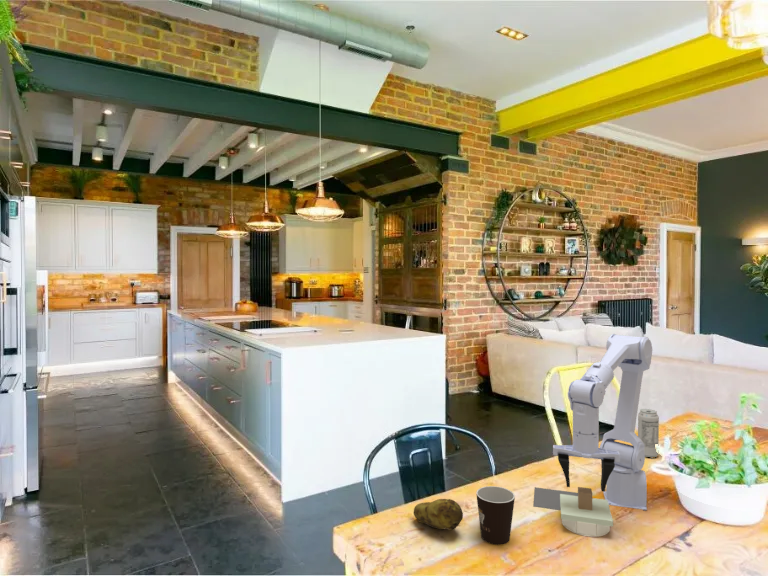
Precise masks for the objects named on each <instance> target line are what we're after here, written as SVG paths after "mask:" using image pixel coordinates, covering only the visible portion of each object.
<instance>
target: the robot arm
mask: <svg viewBox="0 0 768 576" xmlns="http://www.w3.org/2000/svg"><path fill="white" fill-rule="evenodd" d="M605 347H606V352H605V354H604V355H603V356H602V358H601V360H599V361H597V362H593V363H592V364H591V366H590V367H589V368H588V369H587V370H586V371H585V372H584V374H583V375H582V376H581V378H580V379H575V380H573V381H572V382H570V384H569V386H568V391H567V398H568V400H569V404H570V406H569V408H570V411H572V444H565V445H563V444H562V445H560V444H559V445H558V444H553V445H552V454H553V456H555V457H557V459H558V464H560V468H561V469H562V471H563V474H564V478H565V484H566V487H567V488H570V487H571V481H570V457H577V458H583V459H594V460H596V459H597V460H600V461H601V462H600V463H601V475H600V477H601V478H600V489H601V492H603V496H604V500H608V504H609V506H614V507H619V508H620V507H622V508H630V509H635V510H643V511H647V510H648V508H647V502H648V501H647V498H648V497H647V496H648V495H647V490H648V489H647V487H648V486H647V483H648V481H647V474H646V472H645V470H642V469H643V468H644V465H645V460H646V458H645V454H644V447H645V446H644V443H643V441H642V440H641V439H640V438H639V437H638V434H637V433H635V430H636V425H637V419H638V409H639V401H640V394H641V389H642V388H641V387H642V382H643V376H644V371H648V370H650V367H651V362H652V356H653V346H652V342H651V339H650V338H649V336H634V335H623V334H615V333H612V334H610V336H608V338H607V339H606V346H605ZM618 367H619V368H620V369H621V371H622V373H621V380H620V386H619V391H618V392H619V393H618V399H617V405H616V406H617V407H616V413H615V419H614V420H615V421H614V426H613V429H611V430H608V431H607V432H605V433H604V434H603V436H602V439H601V440H602V441H601V442H600V444H599V435H600V434H599V430H600V429H599V428H600V425H599V423H600V422H599V421H600V420H599V419H600V418H599V417H600V415H599V414H600V412H599V411H600V407H601V406H602V405H603V401H604V396H605V395H606V390H607V388H608V386H609V385H610V383H611V382H612V381H613V380H614V377H615V374H614V373H615V372H614V371H615V370H616V369H617V368H618ZM619 441H621V442H619ZM624 442H626V443H624ZM627 443H629V444H627ZM630 444H631V445H630Z"/></svg>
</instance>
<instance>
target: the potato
mask: <svg viewBox="0 0 768 576" xmlns="http://www.w3.org/2000/svg"><path fill="white" fill-rule="evenodd" d="M461 507H462V506H461V505H460V504H459V503H457V502H456V501H455V500H453V499H451V498H438V499H436V500H432V501H431V502H429V501H427V502H426V501H425V502H420V503H418V504H416V505H415V506H414V508H413V516H414V518H415V519H416V520H417V521H418V522H419V523H421V524H426V525H427V526H430V527H432V528H433V529H440V530H444V529H448V530H449V531H454V530H455V529H457V527H458V526H460V524H461V522H462V521H463V518H464V514H463V513H464V512H463V509H462V508H461Z"/></svg>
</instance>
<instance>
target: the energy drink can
mask: <svg viewBox="0 0 768 576" xmlns="http://www.w3.org/2000/svg"><path fill="white" fill-rule="evenodd" d="M657 412H658V411H657V410H655V409H650V408H641V409H639V413H637V436H638V437H639V438H640V439H641V440H642V441H643V443H644V446H645V447H644V454H645V457H651V458H650V459H653V458H652V457H656V458H657V456H659V452H658V453H657V452H656V449H655V444H658V445H659V438H660V437H659V436H660V435H659V428H660V427H659V426H660V425H659V423H660V419H659V417H660V416H659V415H658V413H657Z"/></svg>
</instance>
